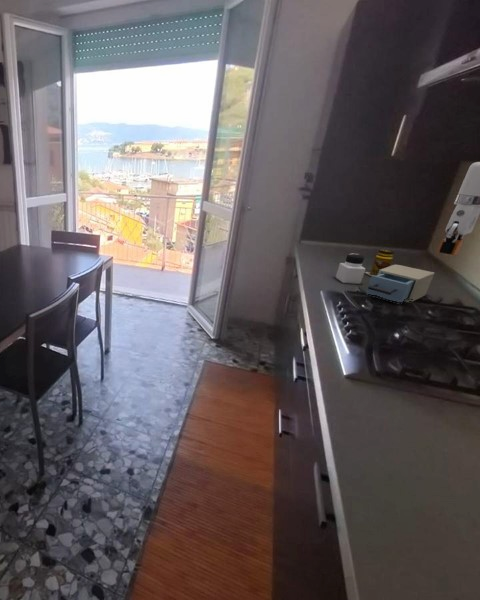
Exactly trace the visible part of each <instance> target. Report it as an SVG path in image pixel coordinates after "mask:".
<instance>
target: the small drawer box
mask: <svg viewBox="0 0 480 600" xmlns="http://www.w3.org/2000/svg"><path fill="white" fill-rule="evenodd" d="M382 273H386V274H390V275H395V276H399V277H403V278H407V279H411V280H416V282H415V284H414V287H413V289H412V292H411V294H410V297H409V298H407V299H405V300H403V302H405V303H409V301H412V302H414V301H417V300H418V299H421V298H423V297H425V296H426V294H427V293H428V290H429V287H430V285H431V283H432V280H433V278H434V275H435V272H433V271H429V270H424V269H420V268H414V267H410V266H406V265H401V264H391V266H389V267H387V268H384V269H381V270H379V273H378V275H380V274H382ZM408 299H413V300H408Z"/></svg>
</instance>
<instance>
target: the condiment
mask: <svg viewBox="0 0 480 600" xmlns="http://www.w3.org/2000/svg"><path fill="white" fill-rule="evenodd" d="M394 252H395V251H394V250H391V249H386V248H383V249H379V250H378V252H377V254H376V255H375V258H374V260H373V263H372V266H371V270H370V271H365V273H364V274H367V275H368V276H370V277H371V276H372V275H375V276H377V275H378V273H379V270H381V269H384V268H387V267H389V266H392V262H393V259H394V258H393V256H394Z"/></svg>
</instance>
